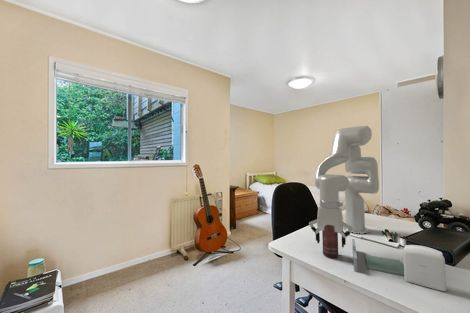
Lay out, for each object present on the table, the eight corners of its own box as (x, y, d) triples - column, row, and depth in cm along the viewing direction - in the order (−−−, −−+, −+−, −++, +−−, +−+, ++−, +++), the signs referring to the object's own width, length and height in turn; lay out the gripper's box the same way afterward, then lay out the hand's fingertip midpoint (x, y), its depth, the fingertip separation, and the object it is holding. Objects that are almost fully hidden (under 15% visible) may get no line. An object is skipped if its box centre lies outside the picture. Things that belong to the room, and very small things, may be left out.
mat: (364, 255, 89) (364, 254, 89) (399, 261, 83) (399, 260, 83) (367, 268, 78) (367, 267, 78) (408, 276, 72) (408, 275, 73)
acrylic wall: (352, 250, 94) (352, 239, 94) (354, 250, 94) (354, 239, 94) (354, 271, 77) (354, 257, 77) (357, 271, 76) (357, 258, 76)
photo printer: (403, 281, 70) (402, 244, 70) (404, 276, 73) (403, 240, 73) (447, 294, 63) (445, 253, 63) (445, 287, 66) (444, 248, 67)
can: (330, 259, 86) (329, 226, 86) (319, 253, 92) (319, 221, 92) (342, 257, 87) (341, 224, 87) (331, 251, 93) (330, 220, 94)
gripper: (351, 204, 89) (353, 244, 89) (309, 201, 97) (310, 238, 97) (352, 208, 83) (353, 251, 82) (307, 204, 91) (308, 244, 90)
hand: (330, 244), depth 90 cm, fingers open, 9 cm apart
